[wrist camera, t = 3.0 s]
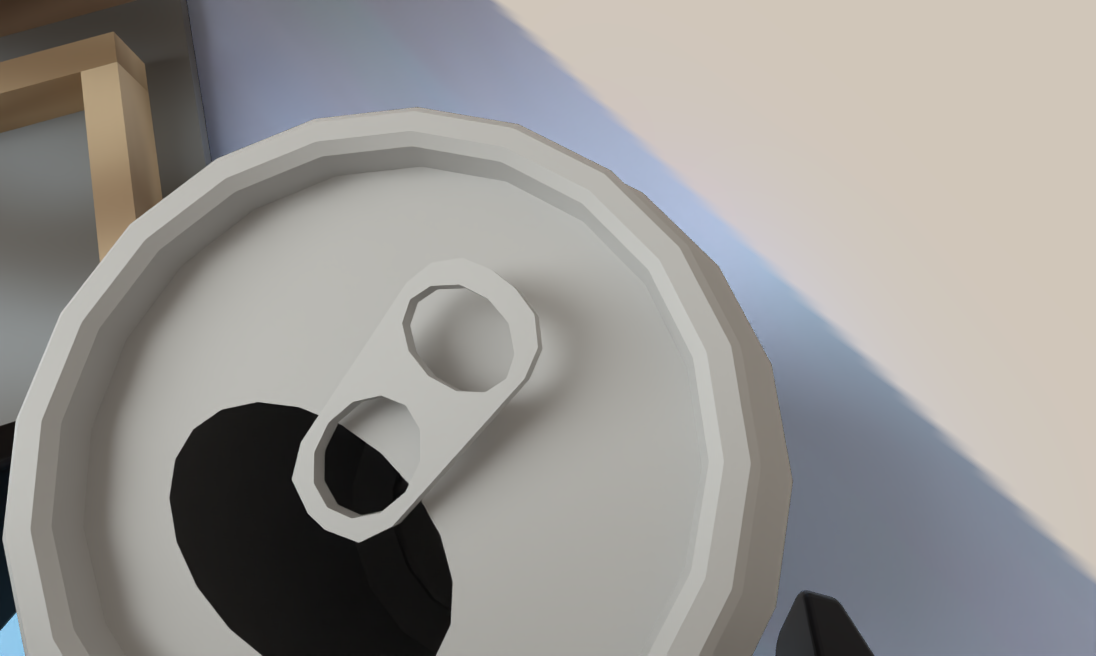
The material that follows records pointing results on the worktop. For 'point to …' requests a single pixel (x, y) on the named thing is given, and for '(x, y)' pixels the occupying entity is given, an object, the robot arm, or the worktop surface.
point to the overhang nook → (83, 151)
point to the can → (400, 416)
